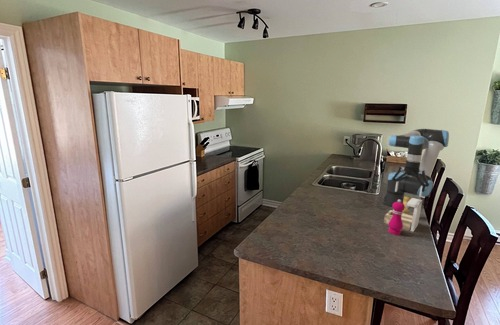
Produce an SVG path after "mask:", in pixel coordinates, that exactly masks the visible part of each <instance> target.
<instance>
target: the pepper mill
mask: <svg viewBox="0 0 500 325" xmlns="http://www.w3.org/2000/svg"><path fill="white" fill-rule="evenodd" d="M391 207H392V210H393V216H392V218H391V220H390V221H389V224H387V225H388V233H389V234H392V235H394V236H400V235H401V234H402V230H403V229H402V228H403V223H402V220H401V215H402V214H403V210H404V209H405V206H404V204H403V203H402V202H401V200H400V199H399V200H398V202H394V203H393V206H391Z"/></svg>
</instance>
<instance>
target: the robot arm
mask: <svg viewBox="0 0 500 325" xmlns="http://www.w3.org/2000/svg"><path fill="white" fill-rule="evenodd" d="M449 138H450V134H449V131H448V130H443V129H431V128H416V129H414V130H409V132H408V133H404V134H399V135H397V134H395V135H394V134H392V135H390V136H389V138H388V145H389V147H390V146H391V147H394V148H395V147H396V148H402V149H403V148H405V149H407V153H406V161H405V166H399V167H398V170H397V171H396V172H390V173H388V177H387V183H386V191H385V193H384V195H383V197H382V201H381V202H382V203H383V205H386V206H389V207H392V206H393V203H394V202H398V200H399V199H400V200H401V202H402V203H403V199H404V196H405V193H406V194H411V195H413V196H417V197H419V198H421V197H423V198H425V197H428V196H429V195H430V193H431V192H432V189H433V186H434V181H432V180H433V179H432V176H431V175H432V172H433V170H434V167H435V165H436V162H437V160H438V157H439V154H440V152H441V151H442V150H444V148H447V147H448V146H449ZM423 150H424V152H423ZM402 171H404V172H402Z"/></svg>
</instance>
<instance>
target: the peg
mask: <svg viewBox="0 0 500 325" xmlns="http://www.w3.org/2000/svg"><path fill="white" fill-rule="evenodd" d="M411 198H412V197H411V196H409V195H404V199H403V204H404V206H405V209H404V210H403V213H405V214H409V212H410V206H409V208H408V209H406V206H407V203H408V201H409V200H410V199H411ZM409 215H410V214H409Z"/></svg>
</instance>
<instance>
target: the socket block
mask: <svg viewBox="0 0 500 325" xmlns="http://www.w3.org/2000/svg"><path fill="white" fill-rule="evenodd" d="M392 216H393V209H390V210H389V211H388V212H386V214H384V218H383V224H386V225H388V224H389V221H390V220H391V218H392ZM412 219H413V214H405V213H403V214H402V215H401V220H402V223H403V228H402V229H401V230H407V231H410V230H411V224H412Z"/></svg>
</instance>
